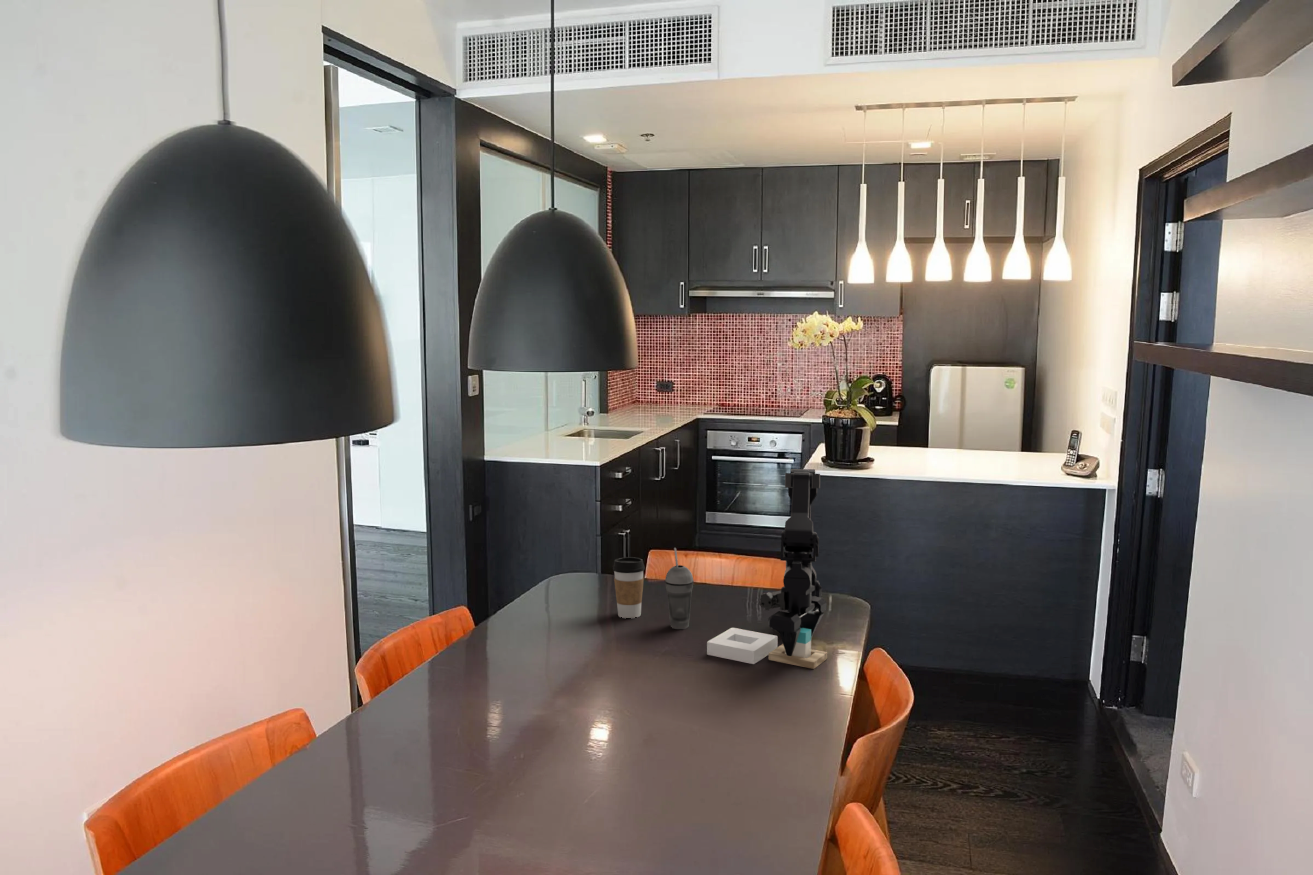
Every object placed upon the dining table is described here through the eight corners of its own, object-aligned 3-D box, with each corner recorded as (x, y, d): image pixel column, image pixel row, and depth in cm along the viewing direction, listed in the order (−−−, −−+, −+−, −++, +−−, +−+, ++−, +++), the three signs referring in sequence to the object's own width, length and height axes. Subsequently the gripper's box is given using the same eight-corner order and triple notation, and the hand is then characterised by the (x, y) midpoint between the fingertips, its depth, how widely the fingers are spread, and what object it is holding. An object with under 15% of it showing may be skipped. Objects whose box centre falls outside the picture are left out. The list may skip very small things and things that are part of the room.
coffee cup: (608, 618, 242) (607, 561, 240) (619, 609, 250) (618, 554, 248) (639, 621, 240) (639, 564, 238) (649, 611, 248) (648, 556, 246)
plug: (790, 655, 214) (790, 625, 213) (810, 659, 211) (811, 629, 211) (784, 659, 212) (785, 629, 211) (805, 663, 209) (805, 633, 208)
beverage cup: (682, 632, 230) (682, 553, 228) (659, 627, 235) (658, 549, 232) (699, 625, 236) (699, 547, 234) (676, 619, 240) (675, 543, 238)
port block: (732, 639, 225) (732, 627, 225) (777, 648, 219) (777, 635, 218) (707, 654, 215) (707, 641, 215) (753, 664, 209) (753, 651, 208)
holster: (782, 649, 217) (782, 643, 217) (827, 658, 212) (827, 652, 211) (768, 659, 211) (768, 653, 211) (813, 668, 205) (813, 662, 205)
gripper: (783, 568, 221) (783, 632, 223) (746, 586, 206) (746, 655, 208) (827, 574, 215) (827, 640, 217) (793, 594, 200) (793, 664, 202)
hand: (797, 649), depth 211 cm, fingers open, 9 cm apart
